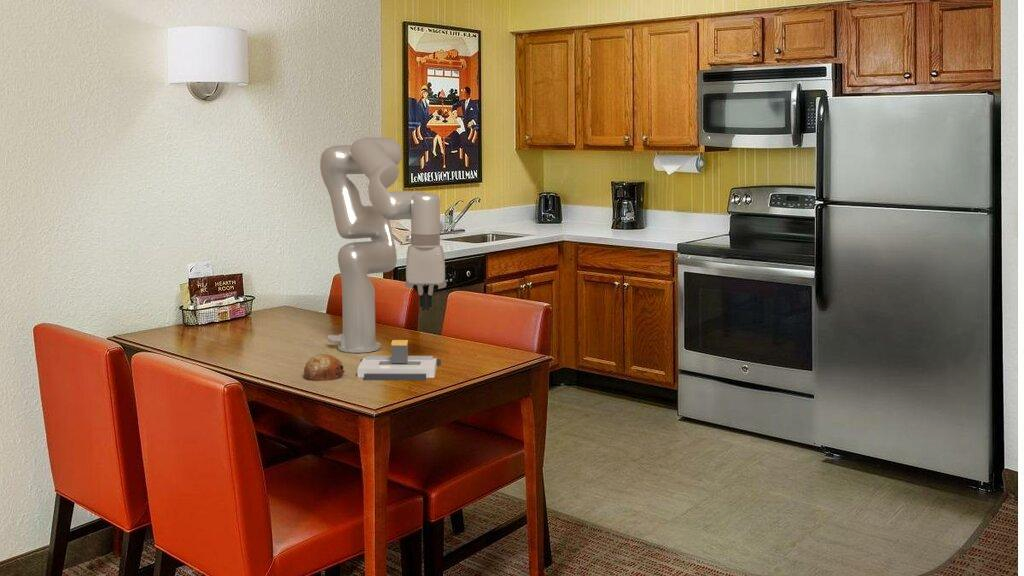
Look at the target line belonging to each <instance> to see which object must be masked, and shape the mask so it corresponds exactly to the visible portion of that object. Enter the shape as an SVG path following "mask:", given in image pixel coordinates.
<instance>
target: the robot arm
mask: <svg viewBox="0 0 1024 576" xmlns="http://www.w3.org/2000/svg"><path fill="white" fill-rule="evenodd" d="M402 155H403V153H402V148H401V145H400V144H399V143H398V141H396V139H394V138H392V137H376V136H375V137H369V136H367V137H361V138H358V139H357V140H354V142H353V143H352V144H340V145H339V144H338V145H332V146H329V147H327V148H326V149H325V150H324V151H322V154H321V157H320V162H319V163H320V164H319V165H320V174H321V178H322V180H323V184H324V185H325V187H326V189H327V192H328V195H329V198H330V202H331V207H332V213H333V217H334V222H335V226H336V229H337V233H338V234H339V237H341V238H342V239H347V240H354V239H355V240H357V239H371V241H367V240H366V241H356V242H350V243H346V244H344V245H343V246H341V247H340V249H339V251H338V253H337V262H338V267H339V273H340V278H341V279H340V280H341V297H342V298H341V299H342V300H341V303H342V305H341V306H342V307H341V308H342V309H341V310H342V332H341V333H338V335H337V334H328V336H327V341H328V342H330V343H338V344H337V350H339V351H340V352H344V353H353V354H357V353H358V354H360V353H362V354H363V353H370V352H375V351H379V350H380V349H382V344H381V343H380V342H378V341H376V297H375V296H376V291H375V287H374V284H373V282H372V280H370V279H369V277H368V275H371V274H382V273H388V272H391V271H393V270H394V269H395V267H396V265H397V262H398V261H397V260H398V257H397V256H398V255H397V254H398V253H397V249H396V245H395V239H394V235H393V230H392V226H391V221H401V220H410V235H405V242H409V243H410V245H408V247H407V251H406V259H405V260H406V262H405V279H406V280H405V285H404V286H405V287H406V288H409V289H413V290H414V291H415V292H416V293H417V294H418V296H419V307H420V308H421V307H422V308H421V310H422V311H425V310H426V311H430V308H432V307H433V294H434V293H435V292H437V290H441V289H444V288H446V287H447V282H446V263H445V252H444V247H443V245H442V244H441V210H440V209H441V202H440V201H441V200H440V196H439V195H438V194H436V193H432V192H431V193H430V192H427V193H426V192H424V191H421V190H406V191H405V190H403V191H402V190H399V191H398V190H397V191H390V190H388V188H390V187H391V186H392V185H394V184H395V182H397V180H398V178H399V175H400V173H399V172H400V171H399V167H398V165H399V164H400V162H401V160H402V158H403V157H402ZM347 175H364V176H365V177H366V178H367V180H369V182H368V187H367V192H368V193H367V196H368V199H369V203H370V204H371V205H363V203H362V201H361V196H360V195H361V194H360V191H359V189H358V187H357V186H356V184H355V183H354V182H353V181H352V180H351V179H350V178H349V177H348V176H347ZM424 285H428V289H427V290H428V291H427V293H426V292H425V291H424ZM425 293H426V294H425Z"/></svg>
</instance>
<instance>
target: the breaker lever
mask: <svg viewBox="0 0 1024 576" xmlns="http://www.w3.org/2000/svg"><path fill="white" fill-rule="evenodd" d="M408 344H409V340H408V339H392V341H391V356H392V363H407V362H408V356H409V351H408V350H409V349H408V348H409V347H408V346H409V345H408Z"/></svg>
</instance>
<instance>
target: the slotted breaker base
mask: <svg viewBox="0 0 1024 576" xmlns="http://www.w3.org/2000/svg"><path fill="white" fill-rule="evenodd" d="M362 359H363V360H362V361H361V360H360V362H359V365H358V367H357V378H364V374H365V373H369V374H426V379H429V378H433V379H434V378H435V376H436V372H437V367H438V365H437V359H438V358H437V357H434V356H433V355H408V362H407V363H392V355H366V356H365V357H363V358H362Z"/></svg>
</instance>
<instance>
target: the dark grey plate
mask: <svg viewBox="0 0 1024 576" xmlns="http://www.w3.org/2000/svg"><path fill="white" fill-rule="evenodd" d="M362 360H363V358H361V359H360V362H361V361H362ZM441 365H442V359H441V358H437V366H441ZM363 380H364V381H427V378H426V374H369V373H365V374H364V377H363Z"/></svg>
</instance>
